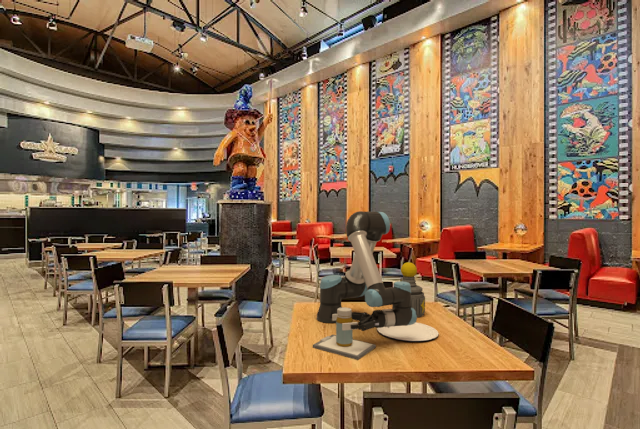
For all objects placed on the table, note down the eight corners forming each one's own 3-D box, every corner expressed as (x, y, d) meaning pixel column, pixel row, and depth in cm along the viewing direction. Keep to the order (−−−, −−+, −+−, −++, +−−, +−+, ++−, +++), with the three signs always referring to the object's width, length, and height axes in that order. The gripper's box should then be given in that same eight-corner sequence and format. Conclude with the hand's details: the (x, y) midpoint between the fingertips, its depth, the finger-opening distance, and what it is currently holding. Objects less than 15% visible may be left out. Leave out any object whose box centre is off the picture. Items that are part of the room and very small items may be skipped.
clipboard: (312, 347, 147) (312, 342, 147) (332, 336, 161) (332, 332, 161) (358, 360, 135) (358, 354, 135) (375, 347, 148) (375, 342, 148)
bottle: (335, 341, 151) (335, 307, 151) (350, 341, 152) (351, 306, 152) (337, 347, 144) (337, 311, 144) (353, 347, 145) (353, 311, 145)
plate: (388, 320, 188) (388, 317, 188) (444, 330, 173) (444, 326, 173) (367, 336, 163) (367, 332, 163) (430, 348, 148) (430, 344, 148)
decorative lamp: (402, 307, 214) (403, 259, 214) (431, 313, 201) (431, 262, 201) (385, 313, 201) (386, 262, 201) (415, 320, 187) (415, 265, 188)
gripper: (396, 336, 141) (347, 341, 135) (371, 318, 165) (328, 322, 159) (396, 318, 141) (347, 321, 135) (371, 303, 165) (328, 305, 159)
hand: (337, 322), depth 147 cm, fingers open, 13 cm apart
